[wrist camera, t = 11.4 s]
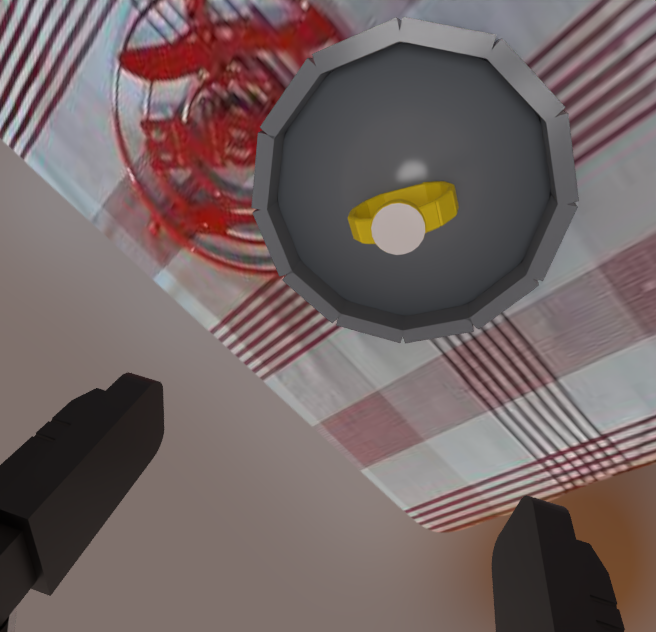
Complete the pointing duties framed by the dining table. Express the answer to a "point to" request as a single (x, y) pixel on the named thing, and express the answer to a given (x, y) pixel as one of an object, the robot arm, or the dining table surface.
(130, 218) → the dining table surface
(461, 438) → the dining table surface
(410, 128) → the round dish
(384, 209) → the watch
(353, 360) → the dining table surface
